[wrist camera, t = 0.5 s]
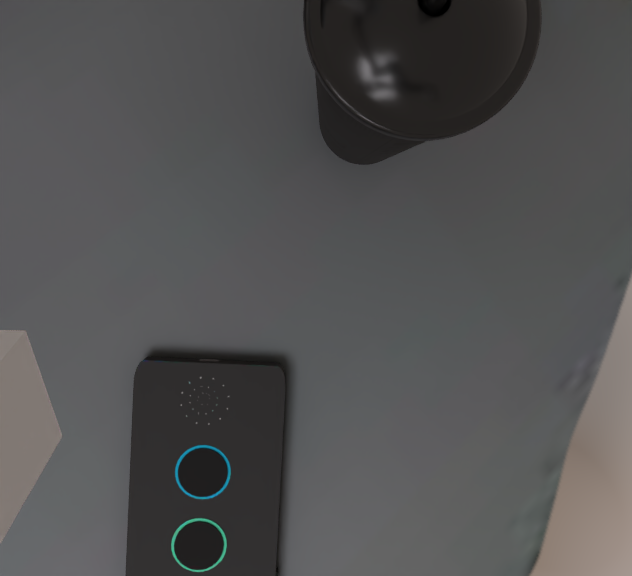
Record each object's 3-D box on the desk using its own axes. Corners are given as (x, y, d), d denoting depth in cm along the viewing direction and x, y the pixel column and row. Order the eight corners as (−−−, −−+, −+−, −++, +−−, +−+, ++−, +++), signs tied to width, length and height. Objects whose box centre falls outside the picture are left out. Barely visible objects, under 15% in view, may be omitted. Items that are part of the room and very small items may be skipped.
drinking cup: (402, 28, 32) (609, -358, 12) (451, 160, 32) (726, 1, 12) (272, 77, 32) (260, -235, 12) (323, 210, 32) (395, 128, 12)
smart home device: (289, 366, 31) (270, 728, 32) (288, 361, 33) (270, 704, 34) (131, 359, 31) (115, 727, 32) (139, 354, 32) (124, 703, 33)
